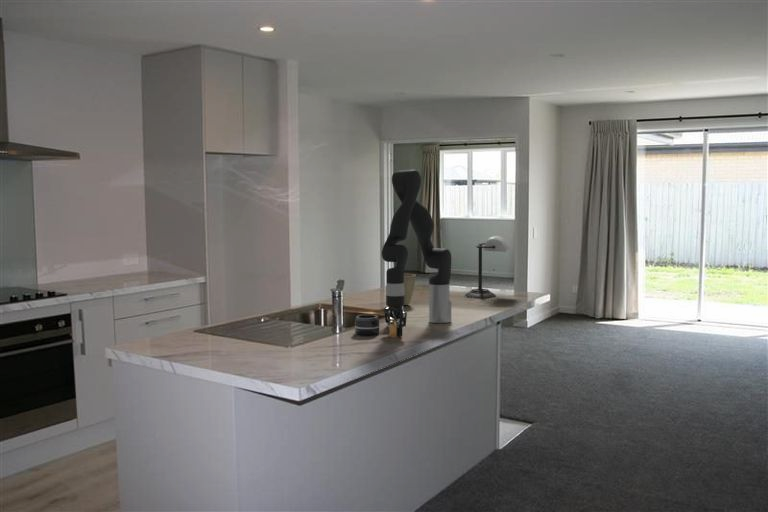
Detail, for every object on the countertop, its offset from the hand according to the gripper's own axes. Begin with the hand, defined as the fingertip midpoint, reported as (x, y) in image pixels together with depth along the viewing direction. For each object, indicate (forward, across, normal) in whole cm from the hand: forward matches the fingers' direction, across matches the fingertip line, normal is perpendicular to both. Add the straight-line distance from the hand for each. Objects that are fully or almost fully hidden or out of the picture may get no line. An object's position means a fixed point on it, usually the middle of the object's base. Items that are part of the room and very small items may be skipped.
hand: (395, 335), depth 267 cm
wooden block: (+1, 0, 0) cm, 1 cm away
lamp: (+1, +64, -99) cm, 118 cm away
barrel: (+1, +11, +7) cm, 13 cm away
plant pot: (+1, +64, -43) cm, 77 cm away
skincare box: (+1, +20, -12) cm, 23 cm away
